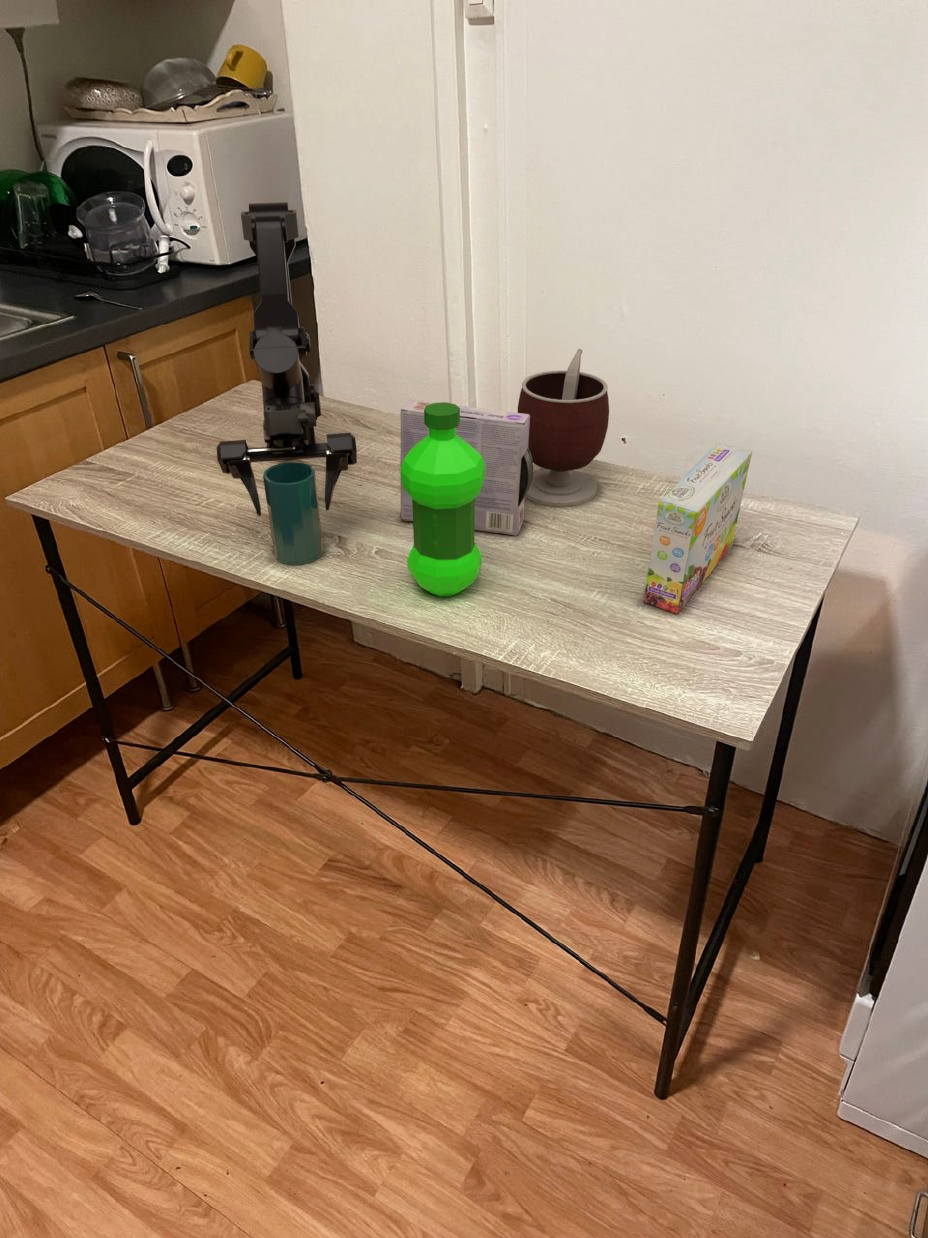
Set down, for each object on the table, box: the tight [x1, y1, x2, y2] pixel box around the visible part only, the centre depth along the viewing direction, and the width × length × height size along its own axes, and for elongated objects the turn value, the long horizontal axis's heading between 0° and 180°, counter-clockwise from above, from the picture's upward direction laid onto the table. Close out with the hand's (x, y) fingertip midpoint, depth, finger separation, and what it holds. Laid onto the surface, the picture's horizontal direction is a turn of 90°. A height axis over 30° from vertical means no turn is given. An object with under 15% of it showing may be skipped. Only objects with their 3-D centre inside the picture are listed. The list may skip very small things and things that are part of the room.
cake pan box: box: [399, 399, 534, 537], centre depth 133 cm, size 19×5×18 cm, turn 75°
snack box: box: [642, 443, 753, 614], centre depth 121 cm, size 21×6×15 cm, turn 148°
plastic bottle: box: [399, 401, 485, 597], centre depth 116 cm, size 10×10×25 cm
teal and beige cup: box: [262, 461, 324, 566], centre depth 127 cm, size 7×7×12 cm
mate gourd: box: [517, 348, 610, 508], centre depth 142 cm, size 16×14×20 cm
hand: (293, 512), depth 126 cm, fingers open, 9 cm apart
